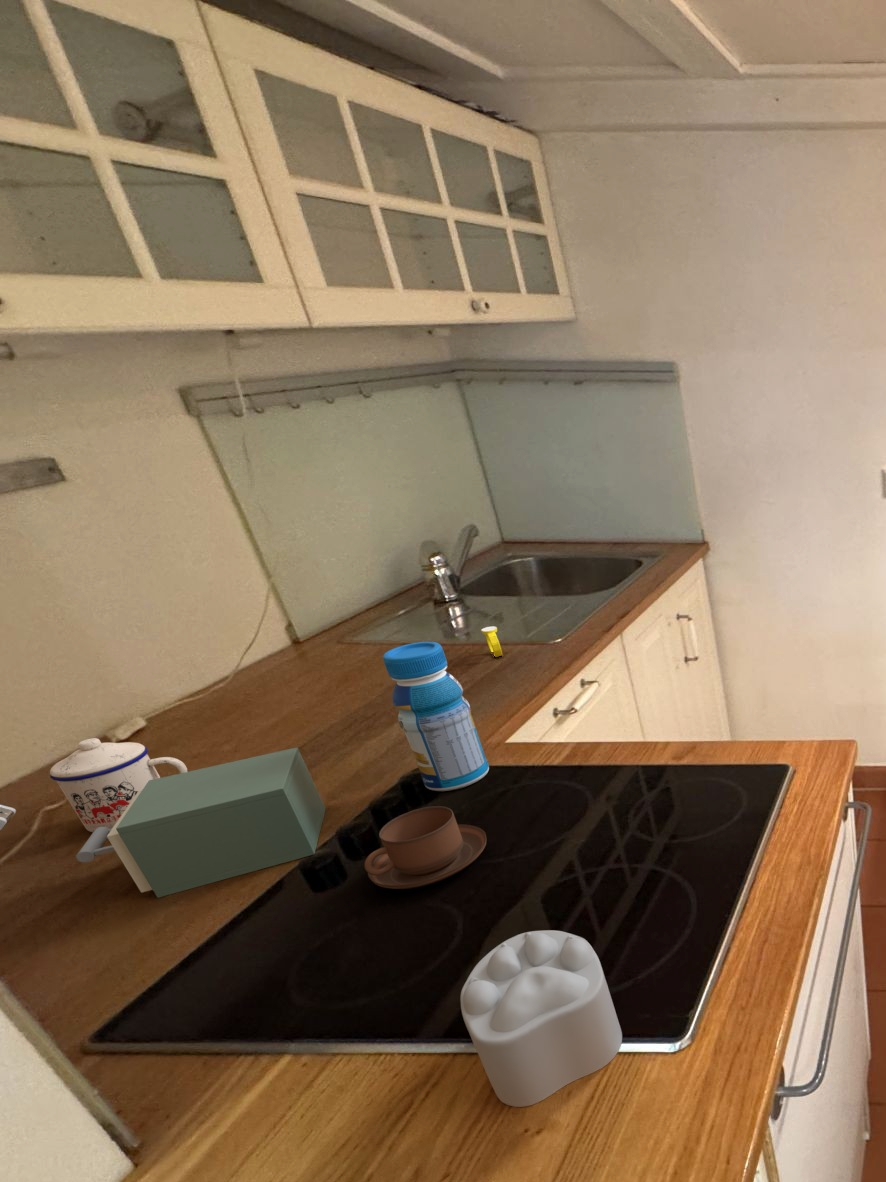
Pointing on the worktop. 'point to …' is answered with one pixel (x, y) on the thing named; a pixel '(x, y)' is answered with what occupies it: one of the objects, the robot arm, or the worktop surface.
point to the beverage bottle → (435, 717)
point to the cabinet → (223, 821)
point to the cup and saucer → (423, 849)
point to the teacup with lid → (106, 779)
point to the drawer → (95, 848)
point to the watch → (492, 640)
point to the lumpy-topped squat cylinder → (540, 1015)
